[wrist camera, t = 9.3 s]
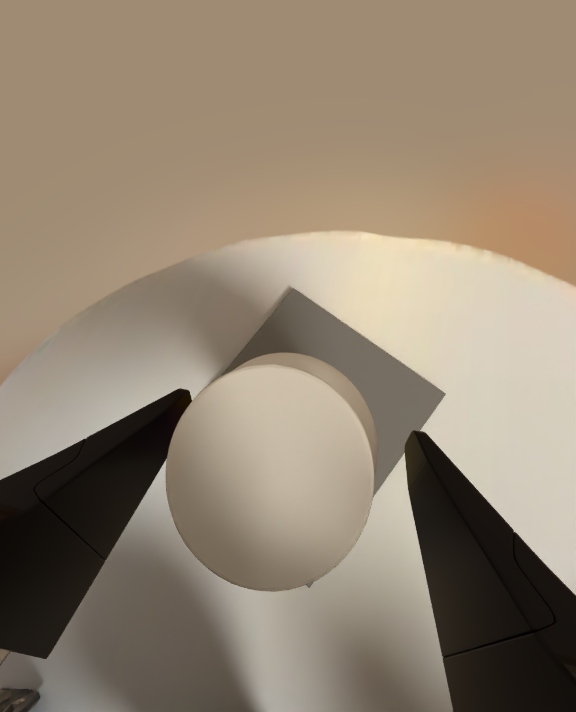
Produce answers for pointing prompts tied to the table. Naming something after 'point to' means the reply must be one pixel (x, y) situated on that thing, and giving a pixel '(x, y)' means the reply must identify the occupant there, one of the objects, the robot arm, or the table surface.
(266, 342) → the mat
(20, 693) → the grey irregular piece
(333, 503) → the supplement bottle
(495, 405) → the table surface
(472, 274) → the table surface
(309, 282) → the table surface
